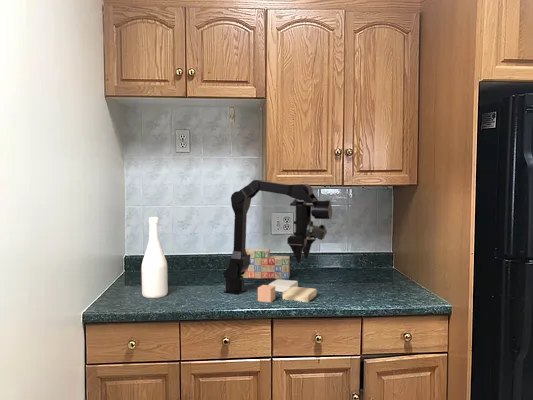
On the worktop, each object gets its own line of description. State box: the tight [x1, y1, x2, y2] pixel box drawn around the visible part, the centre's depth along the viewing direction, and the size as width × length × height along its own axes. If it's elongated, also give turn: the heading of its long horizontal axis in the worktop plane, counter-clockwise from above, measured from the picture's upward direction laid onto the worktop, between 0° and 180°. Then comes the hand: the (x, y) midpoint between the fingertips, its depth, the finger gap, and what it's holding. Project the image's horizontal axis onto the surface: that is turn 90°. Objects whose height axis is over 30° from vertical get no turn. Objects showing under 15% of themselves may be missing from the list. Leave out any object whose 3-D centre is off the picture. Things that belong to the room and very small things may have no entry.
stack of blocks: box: [241, 248, 291, 280], centre depth 205 cm, size 21×6×12 cm, turn 82°
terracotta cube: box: [257, 284, 276, 304], centre depth 168 cm, size 5×5×5 cm
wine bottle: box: [141, 216, 168, 299], centre depth 174 cm, size 10×10×30 cm
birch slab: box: [282, 286, 318, 303], centre depth 172 cm, size 10×10×3 cm
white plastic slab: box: [268, 279, 299, 293], centre depth 184 cm, size 9×9×3 cm
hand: (302, 260), depth 168 cm, fingers open, 9 cm apart
